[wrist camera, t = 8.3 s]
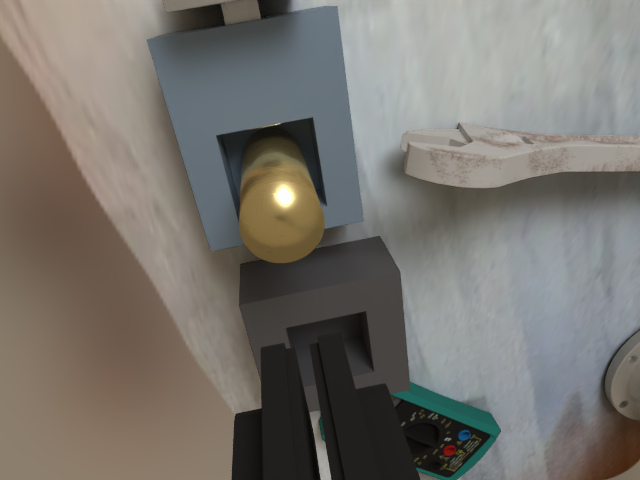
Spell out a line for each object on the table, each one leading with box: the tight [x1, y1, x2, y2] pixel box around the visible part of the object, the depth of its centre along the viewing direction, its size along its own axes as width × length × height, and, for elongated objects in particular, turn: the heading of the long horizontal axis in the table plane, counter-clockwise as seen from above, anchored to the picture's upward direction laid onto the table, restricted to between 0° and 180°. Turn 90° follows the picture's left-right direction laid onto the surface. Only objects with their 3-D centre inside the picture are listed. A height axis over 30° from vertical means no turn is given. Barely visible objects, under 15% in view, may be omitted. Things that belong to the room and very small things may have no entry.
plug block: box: [163, 0, 281, 130], centre depth 23 cm, size 9×6×6 cm
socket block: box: [147, 6, 363, 251], centre depth 27 cm, size 12×9×4 cm
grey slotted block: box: [239, 236, 410, 412], centre depth 33 cm, size 10×10×5 cm
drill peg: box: [239, 127, 325, 263], centre depth 24 cm, size 4×4×10 cm
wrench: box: [400, 123, 640, 189], centre depth 30 cm, size 8×2×30 cm
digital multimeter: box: [319, 382, 501, 480], centre depth 41 cm, size 8×15×3 cm, turn 58°
